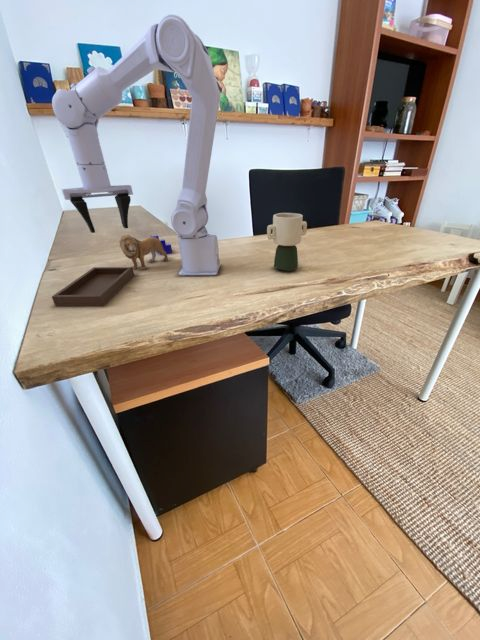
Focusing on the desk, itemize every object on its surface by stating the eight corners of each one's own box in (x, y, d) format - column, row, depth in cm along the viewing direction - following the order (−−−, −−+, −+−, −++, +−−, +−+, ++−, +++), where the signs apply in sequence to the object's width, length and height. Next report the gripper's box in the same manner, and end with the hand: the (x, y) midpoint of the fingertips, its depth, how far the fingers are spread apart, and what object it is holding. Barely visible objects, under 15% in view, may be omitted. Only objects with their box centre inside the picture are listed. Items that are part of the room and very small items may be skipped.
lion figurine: (138, 275, 73) (128, 237, 68) (121, 272, 75) (111, 235, 70) (173, 258, 85) (167, 225, 80) (158, 256, 86) (151, 223, 81)
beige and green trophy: (296, 262, 81) (299, 211, 74) (310, 270, 76) (315, 215, 69) (261, 267, 78) (260, 214, 70) (273, 276, 72) (274, 219, 65)
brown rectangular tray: (134, 275, 73) (132, 267, 72) (103, 306, 59) (99, 296, 58) (96, 275, 73) (93, 267, 72) (55, 306, 59) (51, 296, 58)
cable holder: (172, 253, 89) (170, 239, 87) (161, 254, 88) (158, 241, 85) (163, 247, 95) (161, 234, 92) (153, 248, 93) (150, 235, 91)
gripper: (120, 163, 71) (134, 223, 78) (50, 165, 64) (73, 231, 71) (129, 164, 66) (143, 227, 74) (55, 166, 59) (79, 236, 67)
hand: (109, 229), depth 72 cm, fingers open, 7 cm apart
